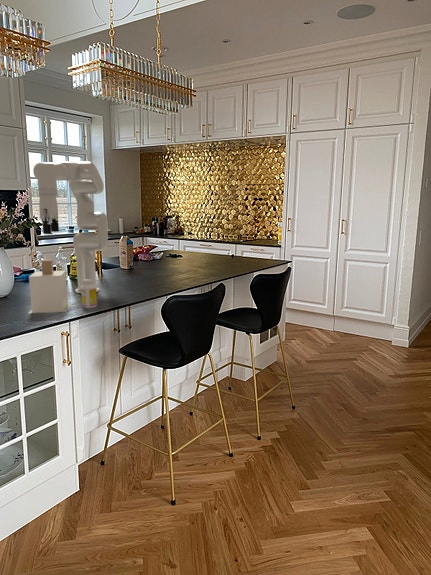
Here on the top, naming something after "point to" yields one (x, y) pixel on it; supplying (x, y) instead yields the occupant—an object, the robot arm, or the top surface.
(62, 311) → the mat
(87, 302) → the supplement bottle
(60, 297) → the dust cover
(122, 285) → the top surface
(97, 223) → the robot arm
